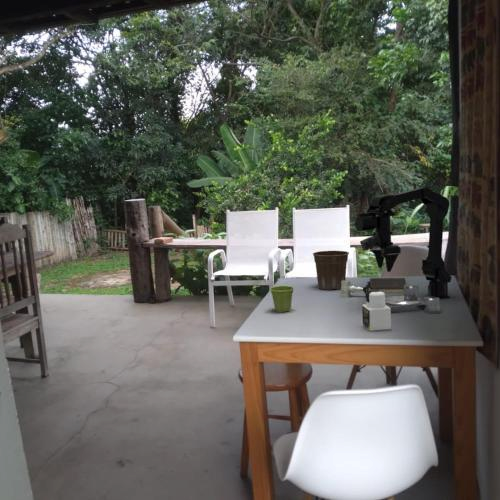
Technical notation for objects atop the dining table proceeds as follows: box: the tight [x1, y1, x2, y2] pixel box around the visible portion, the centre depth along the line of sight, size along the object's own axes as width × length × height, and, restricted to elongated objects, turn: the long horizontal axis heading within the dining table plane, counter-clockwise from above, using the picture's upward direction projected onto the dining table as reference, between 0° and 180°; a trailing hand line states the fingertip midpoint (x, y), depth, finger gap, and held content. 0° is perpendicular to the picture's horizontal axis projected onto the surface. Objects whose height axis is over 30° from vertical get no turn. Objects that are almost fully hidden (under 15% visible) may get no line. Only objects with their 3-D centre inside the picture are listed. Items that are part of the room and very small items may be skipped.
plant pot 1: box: [269, 285, 295, 313], centre depth 186 cm, size 9×9×9 cm
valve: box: [340, 279, 371, 298], centre depth 202 cm, size 7×7×12 cm
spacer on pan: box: [403, 284, 419, 301], centre depth 181 cm, size 5×5×5 cm
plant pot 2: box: [312, 250, 350, 291], centre depth 221 cm, size 16×16×16 cm
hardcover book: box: [368, 277, 407, 293], centre depth 217 cm, size 16×23×2 cm
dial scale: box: [385, 295, 424, 314], centre depth 181 cm, size 17×14×3 cm
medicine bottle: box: [361, 290, 392, 332], centre depth 157 cm, size 7×7×12 cm
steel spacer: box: [423, 296, 440, 314], centre depth 172 cm, size 5×5×5 cm
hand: (384, 269), depth 184 cm, fingers open, 9 cm apart
